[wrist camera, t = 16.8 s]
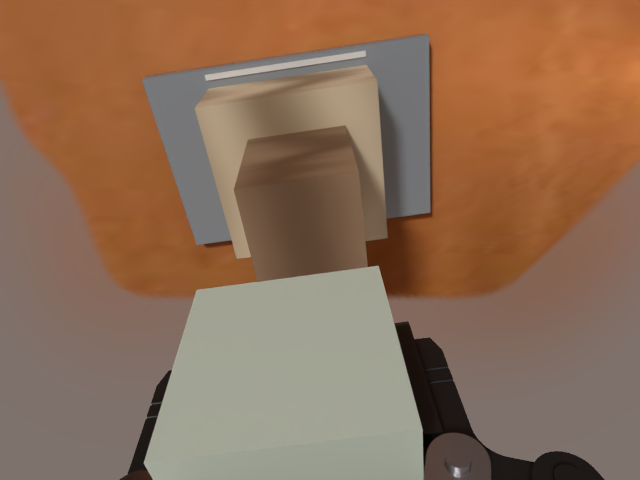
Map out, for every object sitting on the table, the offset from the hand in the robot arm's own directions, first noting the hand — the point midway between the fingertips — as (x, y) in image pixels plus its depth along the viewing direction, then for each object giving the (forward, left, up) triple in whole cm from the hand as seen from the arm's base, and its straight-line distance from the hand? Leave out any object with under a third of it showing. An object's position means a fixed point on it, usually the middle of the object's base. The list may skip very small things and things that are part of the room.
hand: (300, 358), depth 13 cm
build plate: (0, 0, -18) cm, 18 cm away
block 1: (0, 0, -13) cm, 13 cm away
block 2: (0, 0, 0) cm, 0 cm away
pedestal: (0, 0, -17) cm, 17 cm away
